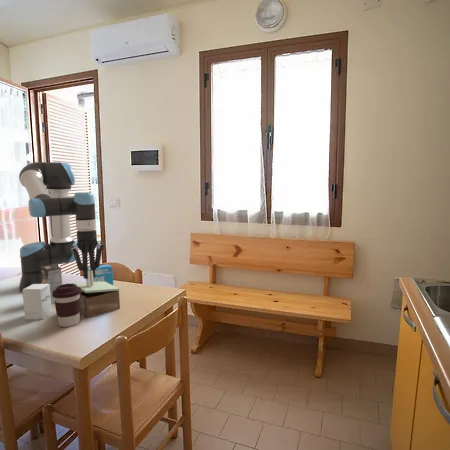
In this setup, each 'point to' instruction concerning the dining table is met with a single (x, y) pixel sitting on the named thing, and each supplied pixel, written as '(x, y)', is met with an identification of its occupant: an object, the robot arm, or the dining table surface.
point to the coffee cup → (67, 304)
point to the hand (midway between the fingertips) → (90, 285)
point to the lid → (96, 287)
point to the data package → (103, 274)
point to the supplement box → (37, 301)
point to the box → (98, 303)
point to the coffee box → (51, 277)
